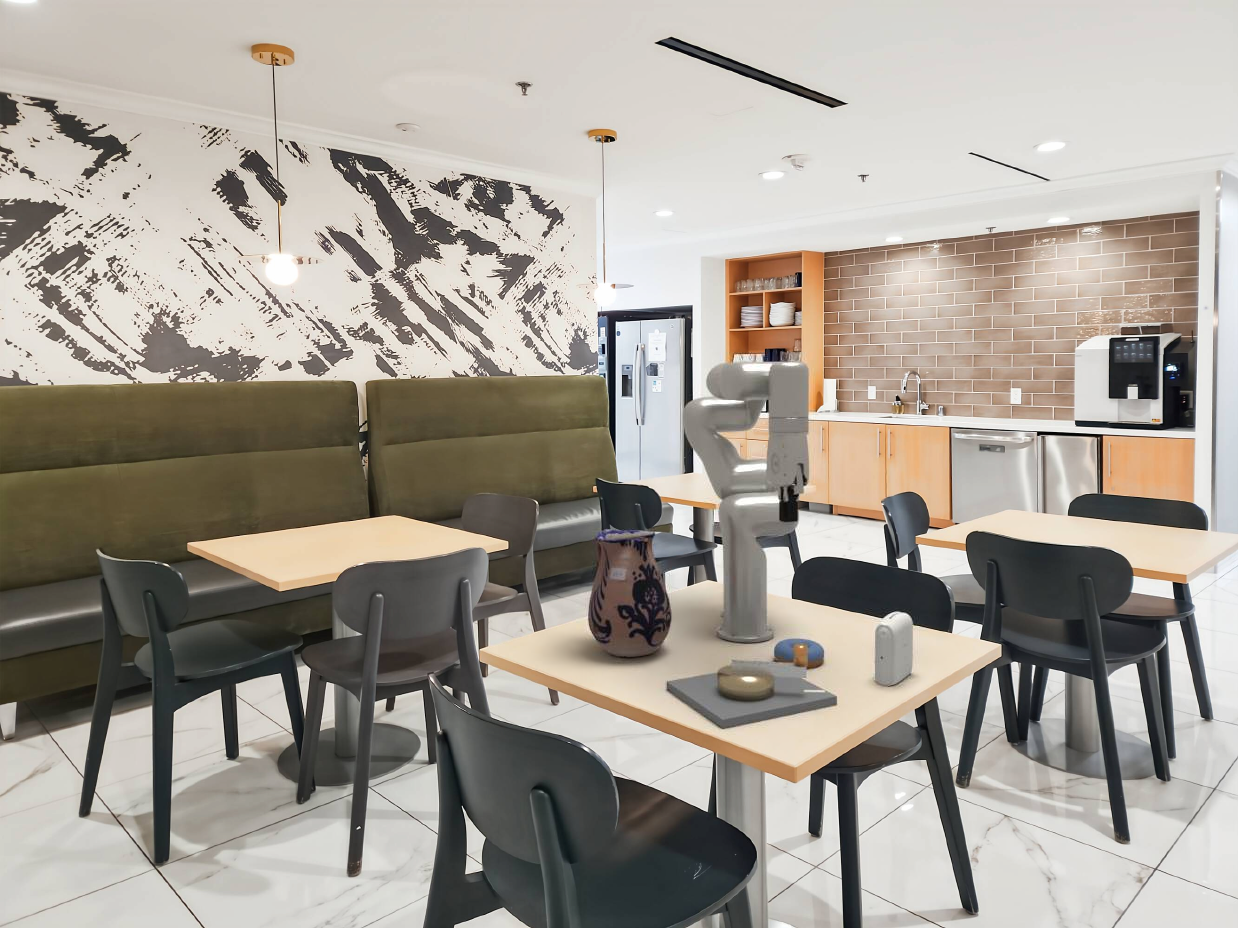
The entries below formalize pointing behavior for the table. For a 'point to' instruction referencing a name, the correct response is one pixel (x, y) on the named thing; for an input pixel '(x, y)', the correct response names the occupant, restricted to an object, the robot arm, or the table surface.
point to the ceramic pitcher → (628, 595)
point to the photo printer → (893, 648)
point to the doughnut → (786, 651)
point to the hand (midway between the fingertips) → (788, 521)
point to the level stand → (734, 712)
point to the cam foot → (759, 675)
